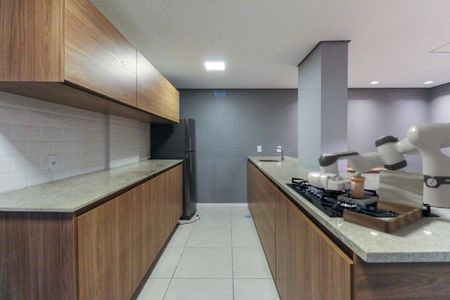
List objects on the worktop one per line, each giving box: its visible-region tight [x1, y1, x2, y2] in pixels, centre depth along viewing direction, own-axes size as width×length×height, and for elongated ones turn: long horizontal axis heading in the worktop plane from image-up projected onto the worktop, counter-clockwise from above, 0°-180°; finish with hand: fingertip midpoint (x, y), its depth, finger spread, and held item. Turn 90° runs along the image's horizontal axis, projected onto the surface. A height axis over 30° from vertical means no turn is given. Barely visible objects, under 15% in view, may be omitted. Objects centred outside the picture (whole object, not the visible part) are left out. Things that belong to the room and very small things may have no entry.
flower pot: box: [349, 171, 366, 198], centre depth 127 cm, size 7×7×13 cm
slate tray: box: [337, 193, 379, 207], centre depth 127 cm, size 13×13×2 cm
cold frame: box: [342, 168, 424, 235], centre depth 100 cm, size 29×16×18 cm, turn 124°
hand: (359, 186), depth 126 cm, fingers closed on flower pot, 6 cm apart
